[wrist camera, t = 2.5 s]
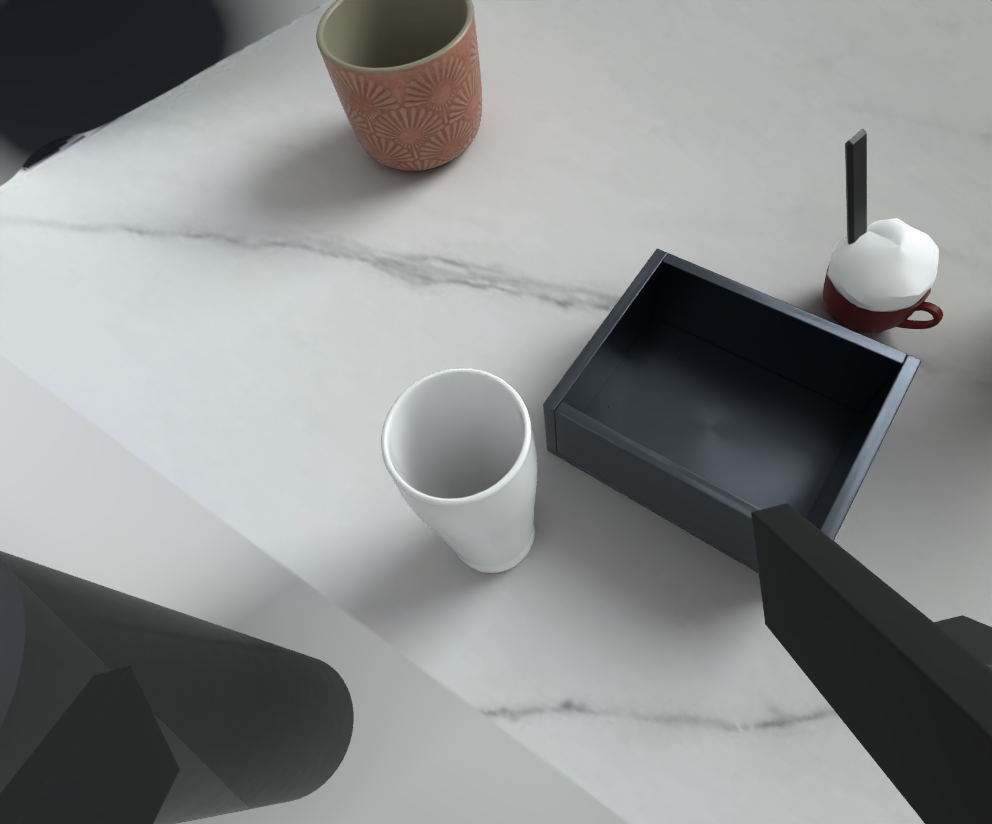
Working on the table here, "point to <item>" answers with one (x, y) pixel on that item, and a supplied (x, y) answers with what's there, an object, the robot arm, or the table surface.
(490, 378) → the white cup
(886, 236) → the cocoa
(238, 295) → the table surface
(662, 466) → the dark storage bin
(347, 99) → the planter
